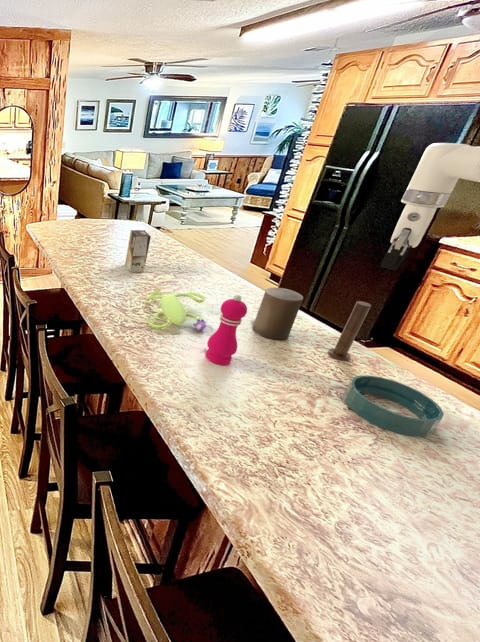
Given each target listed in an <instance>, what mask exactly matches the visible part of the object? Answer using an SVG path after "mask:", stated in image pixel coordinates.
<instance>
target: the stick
mask: <svg viewBox="0 0 480 642" xmlns="http://www.w3.org/2000/svg"><path fill="white" fill-rule="evenodd" d="M371 307H372V305H371V303H369V302H366V301H363V300H358V301H356V303H355V305H354V307H353V308H352V311H351V313H350V314H349V317H348V319H347V321H346V323H345V326H344V328H343V330H342V332H341V334H340V336H339V337H338V340H337V342H336V344H335V347H334V348H333V347H331V348H329V349H328V350H327V354H328V356H330V358H333V359H335V360H338V361H342V362H348V361H350V359H351V357H352V356H351V354H350V353H349V351H350V349H351V347H352V345H353V343H354V341H355V340H356V337H357V335H358V333H359V331H360V329H361V327H362V325H363V322H364V321H365V319H366V317H367V315H368V313H369V311H370V309H371Z"/></svg>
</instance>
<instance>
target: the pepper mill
mask: <svg viewBox="0 0 480 642" xmlns="http://www.w3.org/2000/svg"><path fill="white" fill-rule="evenodd" d="M220 312H221V313H220V317H219V326H218V328H217V330H216V331H215V332H213V334H211V335H210V337H209V338H208V340H207V342H206V345H207V349H206V352H205V358H206V359H207V360H208V361H209V362H211V363H213V364H216V365H219V366H226V365H227V366H228V365H229V364H231V361H232V359H233V356H234V355H235V354H236V353H237V350H238V341H237V329H238V326H240V325H241V324H242V319H243V318H244V317H246V315H247V314H248V306H247V304H246V303H245V302H244V301H242V296H241V295H240V294H235V295H234V296H233V298H228V299H226V300H224V301H223V302H222V304H221V306H220Z"/></svg>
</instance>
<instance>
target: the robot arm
mask: <svg viewBox="0 0 480 642" xmlns="http://www.w3.org/2000/svg"><path fill="white" fill-rule="evenodd" d="M459 179H462V180H466V181H471V182H474V183H475V182H477V183H480V146H472V145H470V144H466V143H455V142H435V143H431V144H429V145H428V146H427V147H426V148H425V150H424V152H423V154H422V156H421V158H420V160H419V162H418V165H417V167H416V169H415V170H414V173H413V175H412V177H411V179H410V181H409V183H408V186H407V187H406V190H405V192H404V194H403V195H402V198H401V200H400V202H401V203H402V204H405V206H404V208H403V210H402V212H401V214H400V216H399V219H398V221H397V223H396V226H395V228H394V230H393V233H392V235H391V238H390V242H389V243H391V245H390V247H389V249H388V251H386V252H385V255H384V257H383V259H382V261H381V263H380V266H379V267H380V268H383V269H387V270H392V271H397V270H398V269H399V267H400V265H401V263H403V262H405V259H406V258H407V256H408V254H409V252H410V249H411V248H416V247H418V246H419V244H420V243H421V241H422V239H423V237H424V235H425V234H426V231H427V229H428V228H429V226H430V223H431V222H432V220H433V218H434V215H435V213H436V211H437V209H438V208H440V209H441V208H444V207H445V206H446V204H447V202H448V200H449V198H450V197H451V195H452V192H453V191H454V189H455V187H456V185H457V183H458V181H459Z"/></svg>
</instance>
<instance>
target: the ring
mask: <svg viewBox="0 0 480 642" xmlns="http://www.w3.org/2000/svg"><path fill="white" fill-rule="evenodd" d="M365 395H369V396H373V397H374V396H375V397H379V398H382V399H386V400H387V401H390V402H393V403H395V404H398V406H399V405H400V406H401V407H403V408H404V409H407V410H408V411H409V412H411V413H412V414H414V415H415V416H416V417H411V416H407V415H403V414H400V413H397V412H394V411H392V410H389V409H387V408H384V407H382V406H380V405H379V404H377V403H375V402H373V401H372V400H370V399H368V398H367V397H366V396H365ZM341 402H342V403H345V405H347V408H349V409H350V410H351V411H352V412H353V413H354V414H356V415H357V416H358V417H360V418H362V419H364V420H365V421H367V422H368V423H369V424H372V425H374V426H376V427H379V428H381V429H383V430H385V431H388V432H391V433H393V434H397V435H401V436H406V437H410V438H411V437H412V438H425V437H428V436H430V435H432V434H433V432H434V431H435V430H436V428H437V427H438V425H439V424H440V423H441V421H442V419H443V417H444V415H445V413H444V411H443V410H442V407H441V406H440V405H439V404H438V403H437V402H436V401H434V400H433V399H432V398H430V397H429V396H427V395H426V394H425V393H423V392H421V391H419V390H418V389H416V388H413V387H411V386H409V385H407V384H405V383H402V382H398V381H397V380H392V379H389V378H386V377H382V376H375V375H370V374H369V375H367V374H366V375H361V374H360V375H357V376H354V377H353V378H352V379H351V381H350V382H349V384H348V386H347V388H346V390H345V391H344V394H343V395H342V397H341Z"/></svg>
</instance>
